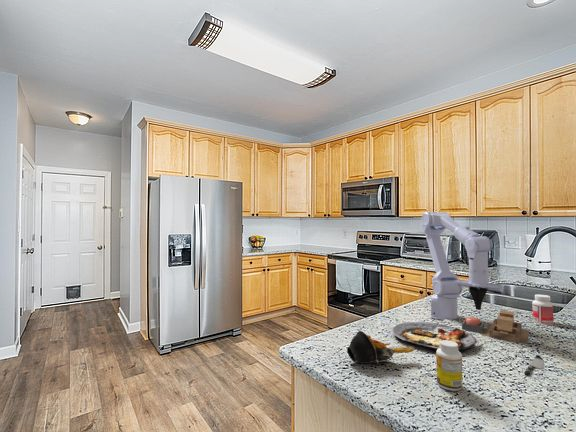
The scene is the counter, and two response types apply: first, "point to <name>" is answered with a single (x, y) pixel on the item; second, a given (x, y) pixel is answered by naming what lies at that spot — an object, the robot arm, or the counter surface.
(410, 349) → the fried shrimp in bowl
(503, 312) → the block
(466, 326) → the button housing
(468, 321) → the button
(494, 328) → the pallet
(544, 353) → the counter surface
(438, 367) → the supplement bottle
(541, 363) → the kitchen knife
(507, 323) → the block
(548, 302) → the pill bottle
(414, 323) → the food plate
